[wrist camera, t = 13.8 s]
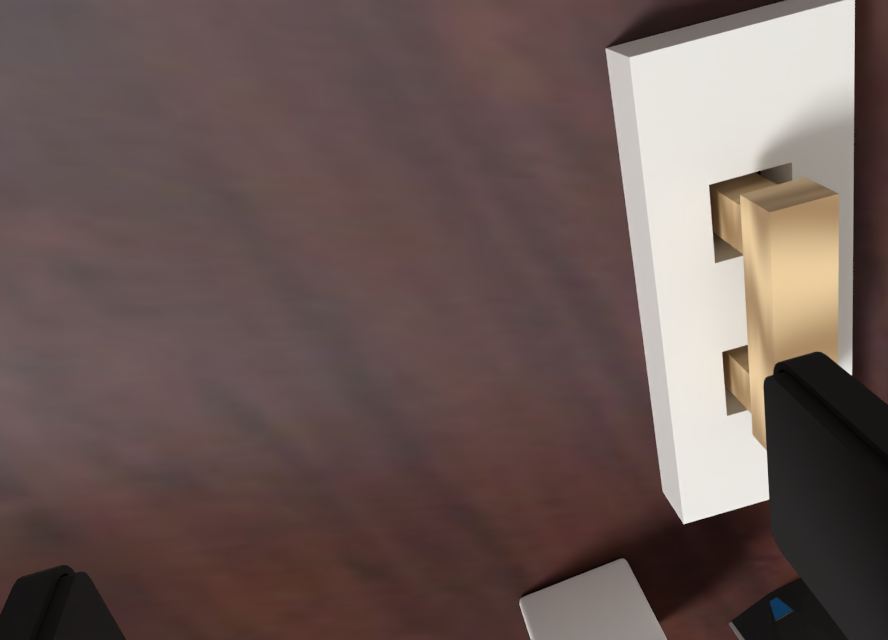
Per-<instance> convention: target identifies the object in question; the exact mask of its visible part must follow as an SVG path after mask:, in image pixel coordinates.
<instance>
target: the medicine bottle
mask: <svg viewBox="0 0 888 640" xmlns="http://www.w3.org/2000/svg"><path fill="white" fill-rule="evenodd" d="M520 607H521V611H522V614H523V617H524V620H525V623H526V626H527V629H528V632H529V636H530V639H531V640H667V638H666V636H665V634H664V632H663V630H662V629H661V627H660V625H659V623H658V621H657V619H656V617H655V615H654V613H653V611H652V609H651V607H650V605H649V603H648V601H647V599H646V597H645V595H644V593H643V591H642V589H641V588H640V586H639V584H638V582H637V580H636V578H635V576H634V574H633V572H632V570H631V568H630V566H629V564H628V562H627V561H626V560H625V559H618V560H616V561H613V562H610V563H608V564H605V565H603V566H600V567H598V568H595V569H593V570H590V571H588V572H585V573H582V574H580V575H577V576H575V577H572V578H570V579H567V580H565V581H562V582H560V583H557V584H554V585H552V586H549V587H547V588H544V589H542V590H539V591H537V592H534V593H532V594H529V595H527V596H524V597H522V598H521V599H520Z"/></svg>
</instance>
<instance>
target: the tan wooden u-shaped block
mask: <svg viewBox="0 0 888 640" xmlns="http://www.w3.org/2000/svg"><path fill="white" fill-rule="evenodd" d="M709 192H710V205H711V218H712V231H713V233H715V234H716V235H718V236H719V237H720V238H722V239H723V240H724V241H726V242H727V243H728V244H730V245H731V246H732V247H734V248H735V249H737V250H738V251H739V252H741V253H742V254H743V263H744V282H745V301H746V320H747V339H748V345H745V346H742V347H738V348H734V349H731V350H727V351H724V352H722V358H723V371H724V384H725V386H726V387H727V388H728V389H729V390H730V391H731V392H732V394H733V395H734V396H735V397H736V398H737V399H738V400H739V401H740V402H741V403H742V404H743V405H744V406H745V408H746V409H747V410H748V411H749V412H750V413H751V415H752V434H753V436H754V437H755V438H756V439H757V440H758V442H759V443H760V444H761V445H762V446H763V447H764V448H765V449H766V451H767V446H766V427H765V408H764V389H763V386H764V380H765V378H766V377H767V376H771V375H773V369H774V367H775V364H777V363H778V362H781V361H784V360H788V359H791V358H795V357H798V356H802V355H805V354H809V353H812V352H822V353H824V354H825V355H827V356H828V357H829V358H831V359H832V360H833V361H834V362H836V363H837V364H838V271H839V193H837V192H834V191H832V190H830V189H828V188H826V187H824V186H822V185H820V184H818V183H816V182H814V181H812V180H810V179H808V178H806V177H804V178H800V179H797V180H793V181H789V182H785V183H782V184H778V185H777V184H776V183H774V182H772V181H770V180H768V179H766V178H764V177H763V176H761V175H759V174H757V173H755V172H754V173H750V174H747V175H743V176H739V177H736V178H732V179H729V180H725V181H721V182H718V183H714V184H710V185H709Z"/></svg>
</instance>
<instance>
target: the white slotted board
mask: <svg viewBox="0 0 888 640" xmlns="http://www.w3.org/2000/svg"><path fill="white" fill-rule="evenodd" d="M606 56H607V63H608V71H609V79H610V87H611V94H612V102H613V110H614V118H615V125H616V133H617V141H618V149H619V156H620V164H621V172H622V180H623V187H624V195H625V203H626V211H627V218H628V226H629V234H630V242H631V250H632V257H633V265H634V273H635V281H636V288H637V296H638V304H639V312H640V319H641V327H642V335H643V343H644V350H645V358H646V366H647V374H648V381H649V389H650V397H651V405H652V412H653V420H654V428H655V436H656V443H657V451H658V459H659V467H660V474H661V482H662V490H663V493H664V494H665V496H666V497H667V499H668V501H669V502H670V504H671V505H672V507H673V508H674V510H675V511H676V513H677V515H678V516H679V518H680V519H681V521H682V522H683V524H686V523H690V522H693V521H697V520H700V519H704V518H707V517H710V516H714V515H717V514H721V513H724V512H728V511H731V510H735V509H738V508H741V507H745V506H748V505H752V504H755V503H759V502H762V501H766V500H769V485H768V466H767V451H766V449H765V448H764V447H763V446H762V445H761V444H760V443H759V442H758V440H757V439H756V438H755V437H754V436H753V434H752V415H751V413H750V412H749V411H748V410H747V409H746V408H745V406H744V405H743V404H742V403H741V402H740V401H739V400H738V399H737V398H736V397H735V396H734V395H733V394H732V392H731V391H730V390H729V389H728V388H727V387H726V386H725V384H724V371H723V358H722V352H724V351H727V350H731V349H734V348H738V347H742V346H745V345H748V339H747V320H746V301H745V282H744V263H743V254H742V253H741V252H739V251H738V250H737V249H735V248H734V247H732V246H731V245H730V244H728V243H727V242H726V241H724V240H723V239H722V238H720V237H719V236H718V235H713V231H712V218H711V205H710V192H709V185H710V184H714V183H718V182H721V181H725V180H729V179H732V178H736V177H739V176H743V175H747V174H750V173H754V172H758V171H760V173H761V176H763V177H764V178H766V179H768V180H770V181H772V182H774V183H776V184H777V185H778V184H782V183H785V182H789V181H793V180H797V179H800V178H804V177H806V178H808V179H810V180H812V181H814V182H816V183H818V184H820V185H822V186H824V187H826V188H828V189H830V190H832V191H834V192H837V193H839V271H838V365H839V366H840V367H842V368H843V369H844V370H845V371H847V372H848V373H849V374H850V375H852V326H853V192H854V57H855V0H785V1H782V2H778V3H774V4H770V5H766V6H763V7H759V8H755V9H751V10H748V11H744V12H740V13H736V14H733V15H729V16H725V17H721V18H717V19H714V20H710V21H706V22H702V23H699V24H695V25H691V26H687V27H684V28H680V29H676V30H672V31H668V32H665V33H661V34H657V35H653V36H650V37H646V38H642V39H638V40H635V41H631V42H627V43H623V44H619V45H616V46H612V47H608V48H606Z"/></svg>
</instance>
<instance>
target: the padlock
mask: <svg viewBox="0 0 888 640" xmlns="http://www.w3.org/2000/svg"><path fill="white" fill-rule="evenodd" d="M728 624H729V625H730V627H731V628H732V629H733V631H734V632H735V633H736V635H737V636H738V638H739V639H740V640H848V638H847V637H846V636H845V634H844V633H843V632H842V630H841V629H840V628H839V627H838V625H837V624H836V623H835V621H834V620H833V619H832V617H831V616H830V615H829V613H828V612H827V611H826V610H825V608H824V607H823V606H822V604H821V603H820V602H819V600H818V599H817V598H816V597H815V595H814V594H813V593H812V591H811V590H810V589H809V587H808V586H807V585H806V584H805V582H804V581H803V580H802V578H801V579H799V580H797V581H795V582H793V583H791V584H788V585H786V586H784V587H782V588H780V589H778V590H776V591H774V592H771V593H770V594H768V595H766V596H765V597H764V598H762V599H761V600H760V601H758V602H757V603H756V604H754V605H753V606H751V607H750V608H749V609H747V610H746V611H745V612H743V613H742V614H741V615H739V616H738V617H736V618H735V619H734V620H732V621H731V622H730V623H728Z"/></svg>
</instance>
